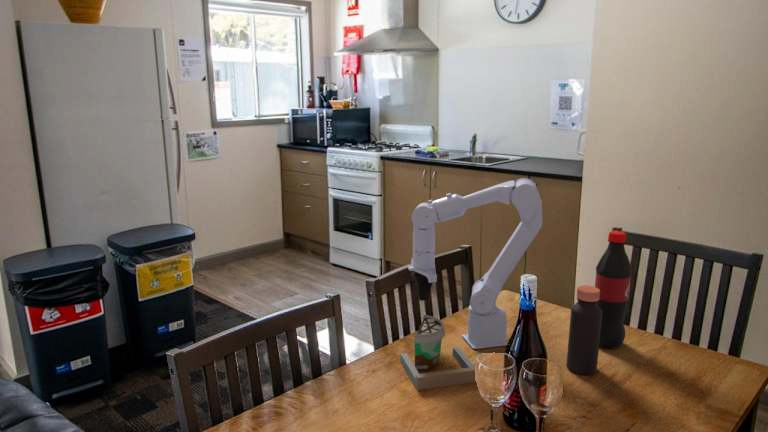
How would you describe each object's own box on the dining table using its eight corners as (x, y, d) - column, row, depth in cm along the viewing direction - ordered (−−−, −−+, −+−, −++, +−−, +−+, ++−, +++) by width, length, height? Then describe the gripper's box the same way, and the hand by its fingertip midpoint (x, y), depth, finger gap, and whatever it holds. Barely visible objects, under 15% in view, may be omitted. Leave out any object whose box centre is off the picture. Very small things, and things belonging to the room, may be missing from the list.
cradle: (458, 354, 138) (458, 342, 137) (480, 381, 125) (481, 369, 125) (400, 361, 134) (400, 349, 134) (417, 390, 122) (417, 377, 121)
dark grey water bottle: (579, 378, 127) (587, 296, 122) (560, 364, 133) (566, 285, 128) (603, 372, 129) (611, 292, 125) (582, 359, 135) (590, 282, 131)
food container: (439, 378, 127) (441, 337, 124) (413, 374, 128) (414, 334, 126) (447, 353, 138) (448, 316, 136) (423, 350, 140) (423, 313, 138)
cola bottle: (628, 342, 144) (641, 231, 137) (617, 354, 138) (629, 238, 131) (596, 333, 150) (606, 225, 143) (583, 344, 143) (594, 232, 137)
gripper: (400, 243, 148) (400, 291, 151) (418, 259, 135) (417, 311, 138) (425, 241, 150) (424, 288, 153) (445, 257, 136) (443, 308, 140)
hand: (422, 299), depth 146 cm, fingers closed
